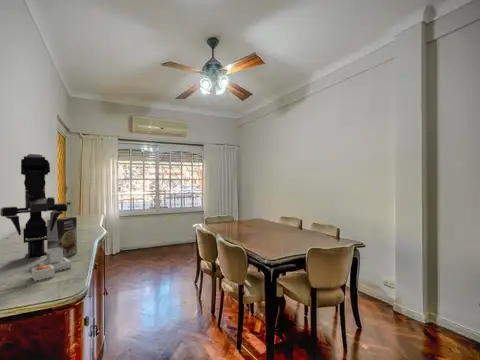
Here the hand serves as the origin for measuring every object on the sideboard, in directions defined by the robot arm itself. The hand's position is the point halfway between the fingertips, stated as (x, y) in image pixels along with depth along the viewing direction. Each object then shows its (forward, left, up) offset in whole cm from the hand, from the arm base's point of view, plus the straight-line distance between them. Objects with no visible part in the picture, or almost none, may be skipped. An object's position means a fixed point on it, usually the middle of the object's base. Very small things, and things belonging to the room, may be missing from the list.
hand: (35, 233), depth 96 cm
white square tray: (+5, +4, -13) cm, 15 cm away
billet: (+5, +4, -12) cm, 14 cm away
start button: (+12, -1, -12) cm, 17 cm away
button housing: (+12, -1, -13) cm, 18 cm away
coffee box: (-11, +11, -13) cm, 20 cm away
